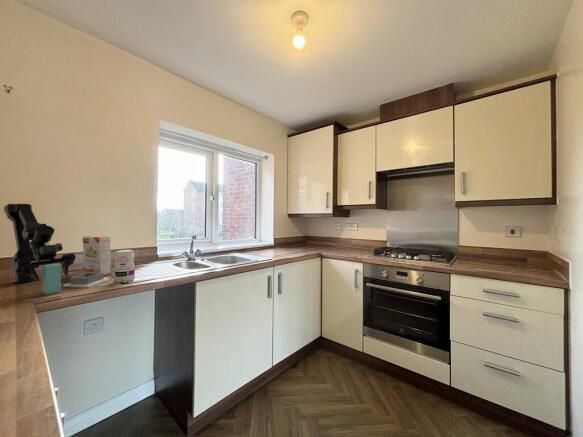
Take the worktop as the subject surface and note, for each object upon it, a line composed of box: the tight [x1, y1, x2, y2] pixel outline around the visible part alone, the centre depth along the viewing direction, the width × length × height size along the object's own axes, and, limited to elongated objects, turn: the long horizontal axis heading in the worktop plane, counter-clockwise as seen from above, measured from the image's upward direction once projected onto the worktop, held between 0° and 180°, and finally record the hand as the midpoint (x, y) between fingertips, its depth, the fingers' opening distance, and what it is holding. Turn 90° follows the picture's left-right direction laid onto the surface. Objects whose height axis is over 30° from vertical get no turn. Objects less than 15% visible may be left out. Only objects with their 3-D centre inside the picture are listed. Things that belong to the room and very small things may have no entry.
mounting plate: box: [63, 272, 110, 288], centre depth 121 cm, size 12×12×4 cm
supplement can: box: [113, 249, 136, 283], centre depth 125 cm, size 8×8×15 cm
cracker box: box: [82, 234, 112, 276], centre depth 138 cm, size 14×6×21 cm, turn 69°
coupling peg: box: [41, 263, 62, 295], centre depth 107 cm, size 4×4×12 cm
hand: (53, 277), depth 106 cm, fingers open, 9 cm apart
